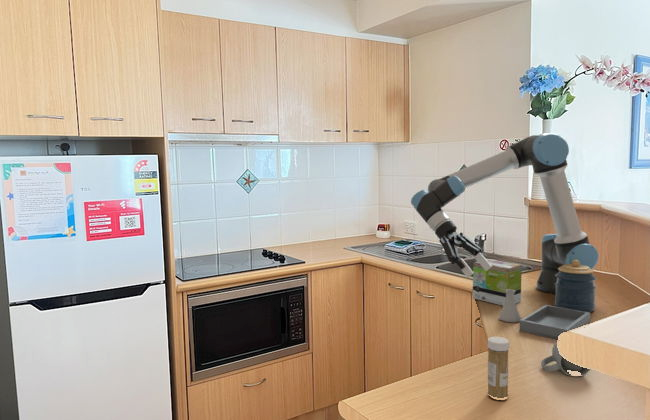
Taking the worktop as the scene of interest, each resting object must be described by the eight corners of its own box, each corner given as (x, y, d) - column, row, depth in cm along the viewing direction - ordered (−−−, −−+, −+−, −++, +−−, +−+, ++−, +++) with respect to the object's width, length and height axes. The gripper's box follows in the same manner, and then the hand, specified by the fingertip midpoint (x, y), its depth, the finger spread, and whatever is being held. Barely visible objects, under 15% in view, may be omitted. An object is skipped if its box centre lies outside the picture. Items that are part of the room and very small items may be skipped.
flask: (524, 319, 165) (525, 290, 164) (516, 324, 160) (517, 294, 159) (503, 315, 170) (503, 286, 169) (494, 320, 165) (495, 291, 164)
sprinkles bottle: (510, 402, 108) (511, 343, 107) (488, 401, 109) (489, 342, 108) (505, 392, 113) (506, 336, 112) (485, 391, 114) (486, 335, 112)
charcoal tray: (545, 314, 169) (545, 304, 169) (589, 323, 160) (590, 312, 159) (519, 331, 154) (519, 320, 153) (566, 341, 144) (567, 329, 144)
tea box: (471, 299, 190) (472, 261, 189) (486, 294, 197) (486, 258, 195) (507, 307, 179) (508, 267, 177) (521, 302, 185) (522, 263, 184)
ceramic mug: (579, 364, 128) (579, 335, 127) (592, 377, 120) (592, 347, 119) (536, 363, 129) (536, 335, 129) (547, 377, 121) (547, 347, 120)
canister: (553, 302, 184) (554, 255, 183) (592, 305, 180) (593, 257, 178) (555, 311, 172) (557, 262, 171) (597, 315, 168) (599, 264, 166)
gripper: (453, 229, 191) (489, 272, 182) (417, 236, 173) (455, 285, 164) (465, 216, 187) (503, 260, 178) (430, 222, 169) (470, 271, 160)
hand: (480, 272), depth 171 cm, fingers open, 13 cm apart
